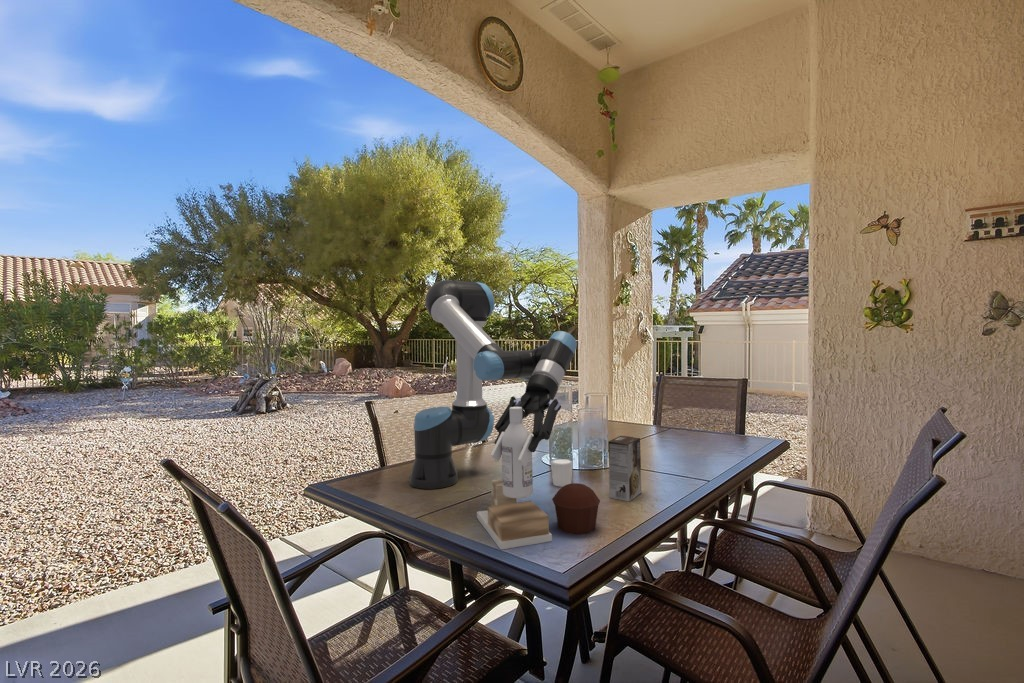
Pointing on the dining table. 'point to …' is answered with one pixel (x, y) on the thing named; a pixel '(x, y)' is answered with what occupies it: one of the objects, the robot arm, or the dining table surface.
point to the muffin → (576, 509)
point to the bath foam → (515, 458)
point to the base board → (483, 519)
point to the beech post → (499, 494)
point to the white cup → (561, 472)
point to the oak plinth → (518, 520)
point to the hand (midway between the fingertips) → (507, 460)
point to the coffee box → (624, 468)
